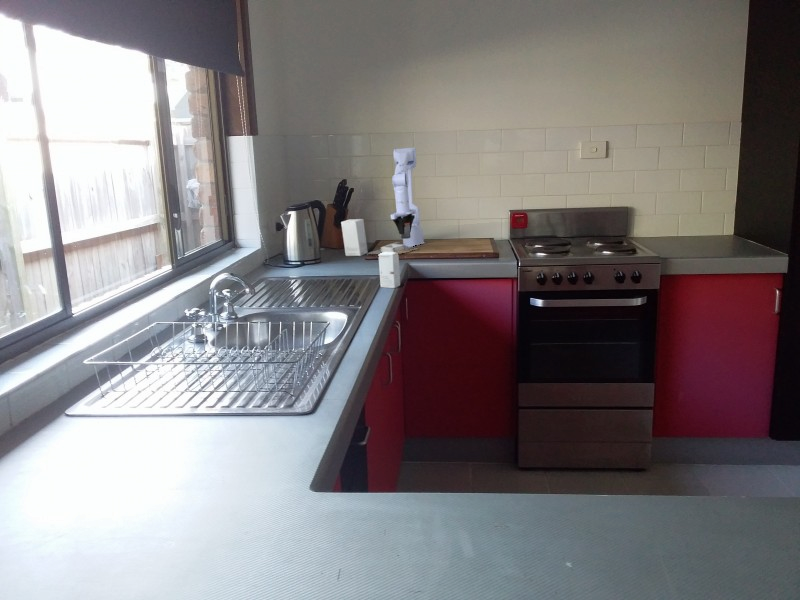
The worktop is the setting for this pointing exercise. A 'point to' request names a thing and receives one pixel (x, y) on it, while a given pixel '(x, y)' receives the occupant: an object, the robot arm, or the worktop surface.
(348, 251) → the skincare box
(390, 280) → the skincare box
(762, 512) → the worktop surface
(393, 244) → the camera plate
